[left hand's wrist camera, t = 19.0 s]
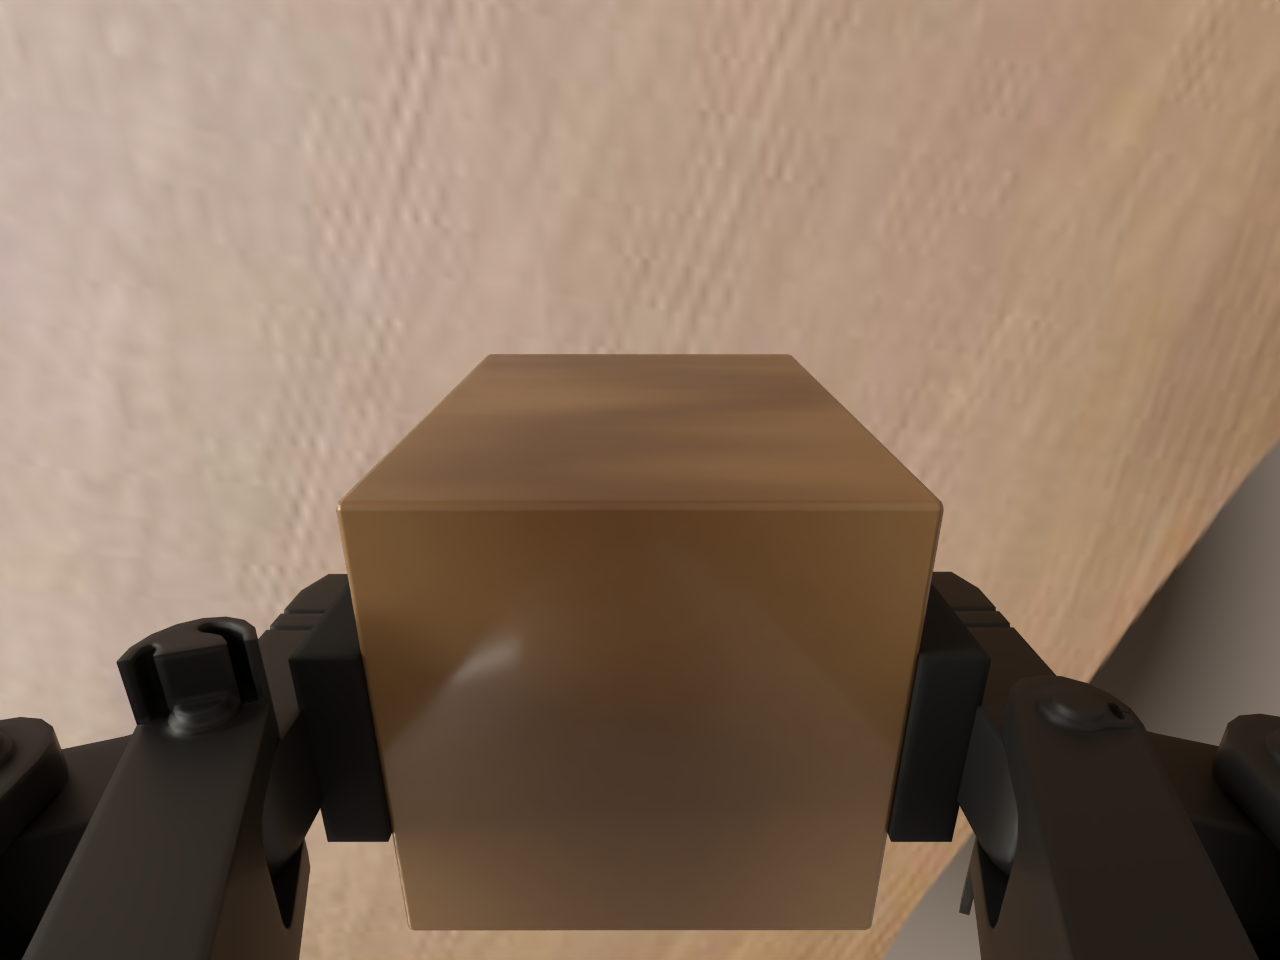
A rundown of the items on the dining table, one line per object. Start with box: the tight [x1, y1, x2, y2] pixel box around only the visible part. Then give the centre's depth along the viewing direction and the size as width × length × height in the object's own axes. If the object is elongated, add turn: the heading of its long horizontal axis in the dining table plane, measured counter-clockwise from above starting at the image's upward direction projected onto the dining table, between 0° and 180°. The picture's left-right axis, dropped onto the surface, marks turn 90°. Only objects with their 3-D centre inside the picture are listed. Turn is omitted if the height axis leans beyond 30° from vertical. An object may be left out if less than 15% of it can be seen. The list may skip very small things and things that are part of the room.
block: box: [337, 354, 943, 930], centre depth 12 cm, size 6×6×8 cm
